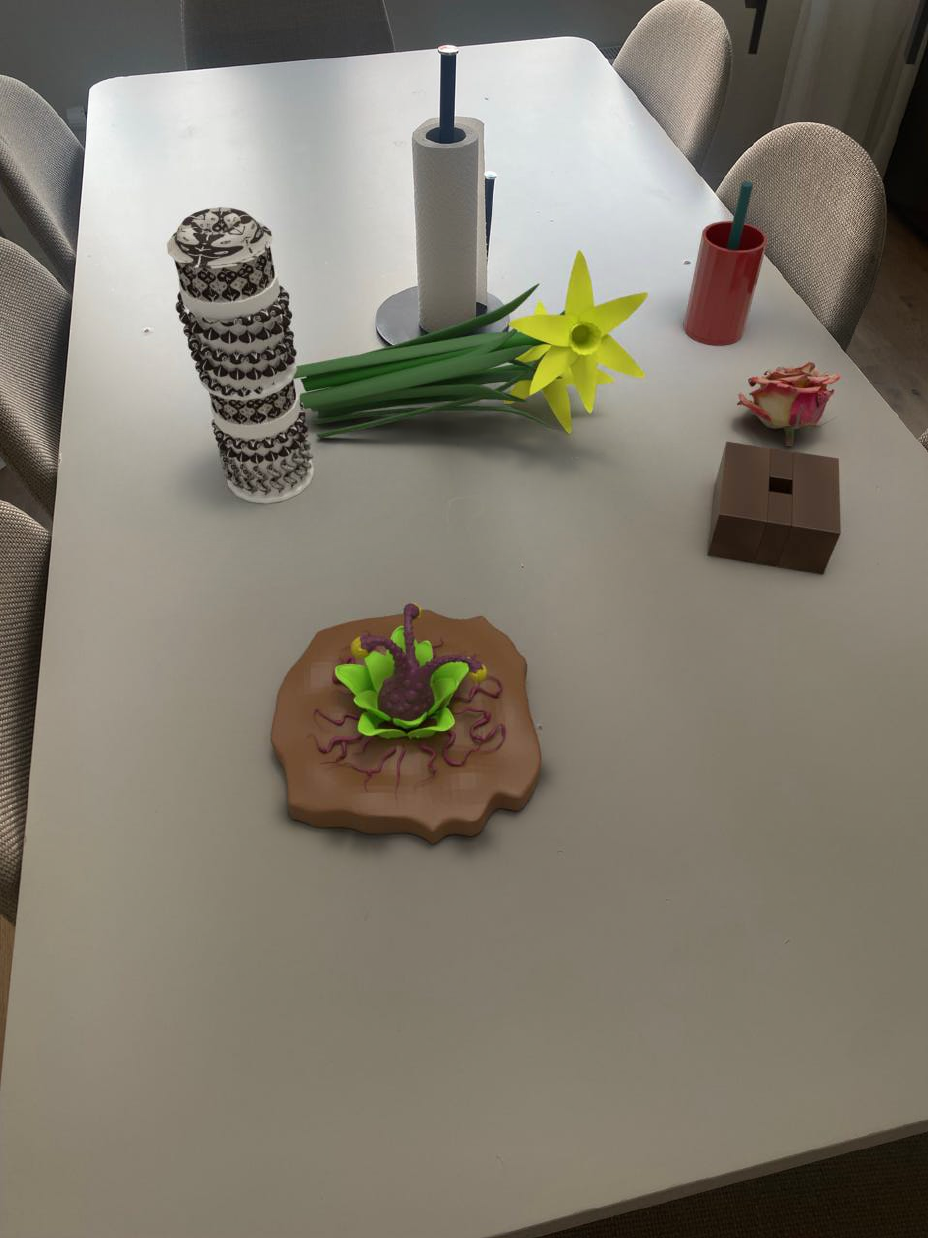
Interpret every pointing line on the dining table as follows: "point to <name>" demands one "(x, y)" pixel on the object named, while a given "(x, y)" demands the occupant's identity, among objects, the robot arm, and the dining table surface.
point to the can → (724, 284)
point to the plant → (407, 726)
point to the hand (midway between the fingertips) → (829, 54)
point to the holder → (776, 508)
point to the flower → (790, 398)
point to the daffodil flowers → (481, 363)
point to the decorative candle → (243, 351)
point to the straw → (739, 215)
